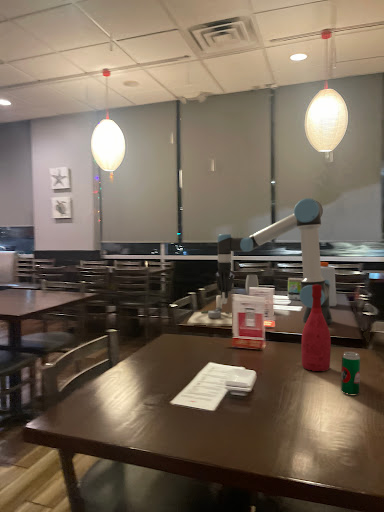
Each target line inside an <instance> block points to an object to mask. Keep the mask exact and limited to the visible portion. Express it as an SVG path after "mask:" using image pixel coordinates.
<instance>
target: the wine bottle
mask: <svg viewBox="0 0 384 512" xmlns="http://www.w3.org/2000/svg"><path fill="white" fill-rule="evenodd" d="M321 291H322V286H321V285H319V284H314V285H313V286H312V297H313V303H312V310H311V313H310V315H309V317H308V319H307V321H306V322H305V324H304V327H303V329H302V333H301V346H300V347H301V366H302V368H304V369H306V370H307V369H308V370H307V371H310V370H312V371H311V372H315V371H323V372H327V371H328V370H329V369H330V365H331V350H332V349H331V346H332V345H331V344H332V341H331V339H332V338H331V333H330V330H329V326H328V324H327V323H326V321H325V319H324V316H323V314H322V310H321V297H322V294H321Z"/></svg>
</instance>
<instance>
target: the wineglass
mask: <svg viewBox="0 0 384 512" xmlns="http://www.w3.org/2000/svg"><path fill="white" fill-rule="evenodd" d="M259 284H260V283H259V279H258V275H257V274H247V275H246V279H245V292H246V294H248V296H249V287H260V286H259Z"/></svg>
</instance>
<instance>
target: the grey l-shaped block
mask: <svg viewBox="0 0 384 512" xmlns="http://www.w3.org/2000/svg"><path fill="white" fill-rule="evenodd" d="M215 299H216V303H215V305H216V308H215V309H213V310H208V311H209V312H208V318H214V319H216V318H221V313H222V309H223V304H222V297H221V295H216V298H215Z"/></svg>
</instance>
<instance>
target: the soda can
mask: <svg viewBox="0 0 384 512" xmlns="http://www.w3.org/2000/svg"><path fill="white" fill-rule="evenodd" d="M360 374H361V357H360V354H359V353H357V352H354V351H344V352H343V354H342V355H341V384H340V388H341V389H340V390H341V392H342V391H343V392H345V393H348V394H358V393H359V394H360V388H361V387H360V385H361V384H360V382H361V381H360V380H361V375H360ZM343 392H342V393H343ZM359 394H358V395H359Z"/></svg>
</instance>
